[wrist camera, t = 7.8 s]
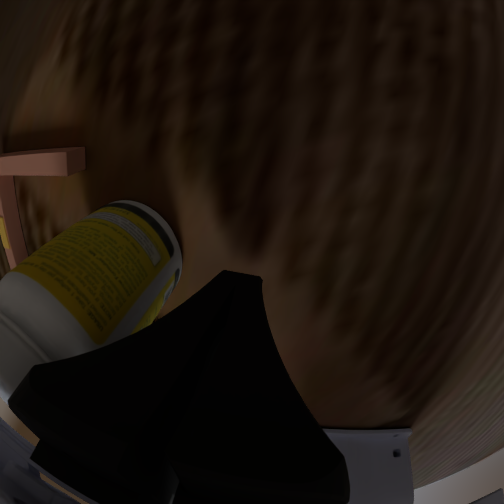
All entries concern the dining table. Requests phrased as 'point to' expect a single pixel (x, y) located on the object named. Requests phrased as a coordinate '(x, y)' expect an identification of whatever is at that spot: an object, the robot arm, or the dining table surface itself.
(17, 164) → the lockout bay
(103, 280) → the supplement bottle
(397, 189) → the dining table surface
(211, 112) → the dining table surface
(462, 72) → the dining table surface
